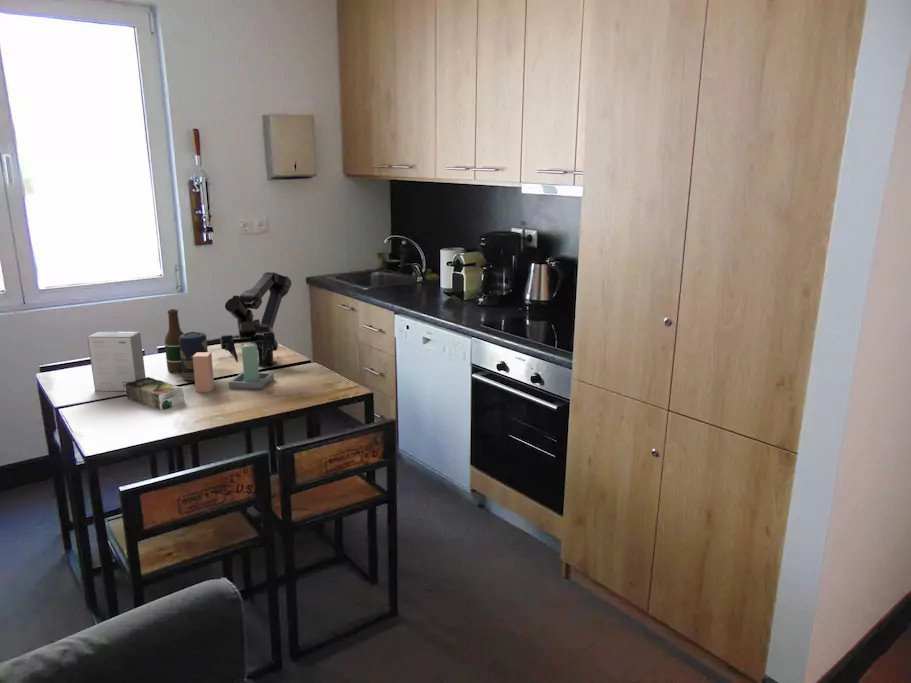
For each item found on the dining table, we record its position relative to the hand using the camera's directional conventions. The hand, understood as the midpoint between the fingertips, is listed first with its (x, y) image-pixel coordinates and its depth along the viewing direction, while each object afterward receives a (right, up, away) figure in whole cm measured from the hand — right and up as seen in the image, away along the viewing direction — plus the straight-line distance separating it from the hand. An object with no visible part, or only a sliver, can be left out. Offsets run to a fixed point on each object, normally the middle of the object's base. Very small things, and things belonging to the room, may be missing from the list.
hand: (250, 360), depth 244 cm
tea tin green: (-1, -8, +3) cm, 9 cm away
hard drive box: (-46, -10, -2) cm, 47 cm away
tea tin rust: (-15, -10, -3) cm, 19 cm away
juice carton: (-28, -14, -14) cm, 34 cm away
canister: (-23, -7, +9) cm, 26 cm away
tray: (-1, -9, +4) cm, 9 cm away
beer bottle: (-33, -5, +18) cm, 38 cm away
